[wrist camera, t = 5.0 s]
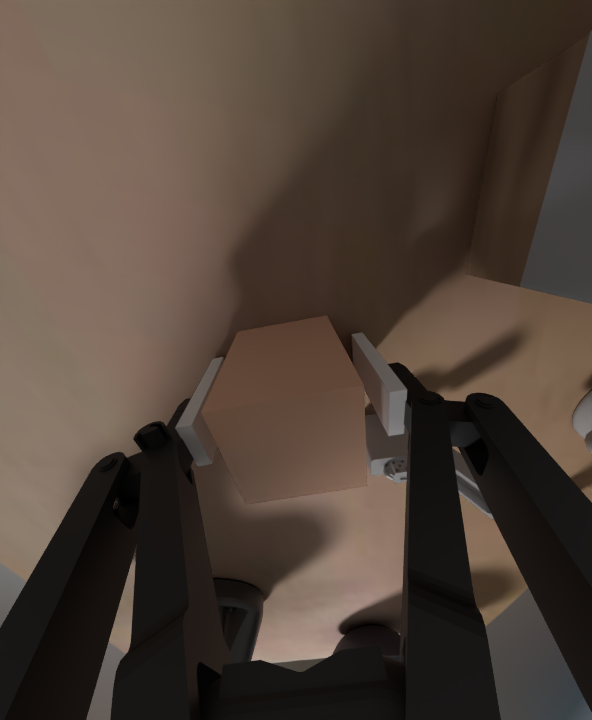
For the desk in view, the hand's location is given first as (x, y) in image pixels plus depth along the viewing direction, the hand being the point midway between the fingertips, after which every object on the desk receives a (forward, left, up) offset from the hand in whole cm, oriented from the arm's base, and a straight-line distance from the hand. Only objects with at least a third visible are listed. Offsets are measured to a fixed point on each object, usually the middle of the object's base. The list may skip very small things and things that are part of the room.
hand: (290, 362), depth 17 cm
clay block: (0, 0, 0) cm, 0 cm away
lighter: (+8, -7, 0) cm, 11 cm away
